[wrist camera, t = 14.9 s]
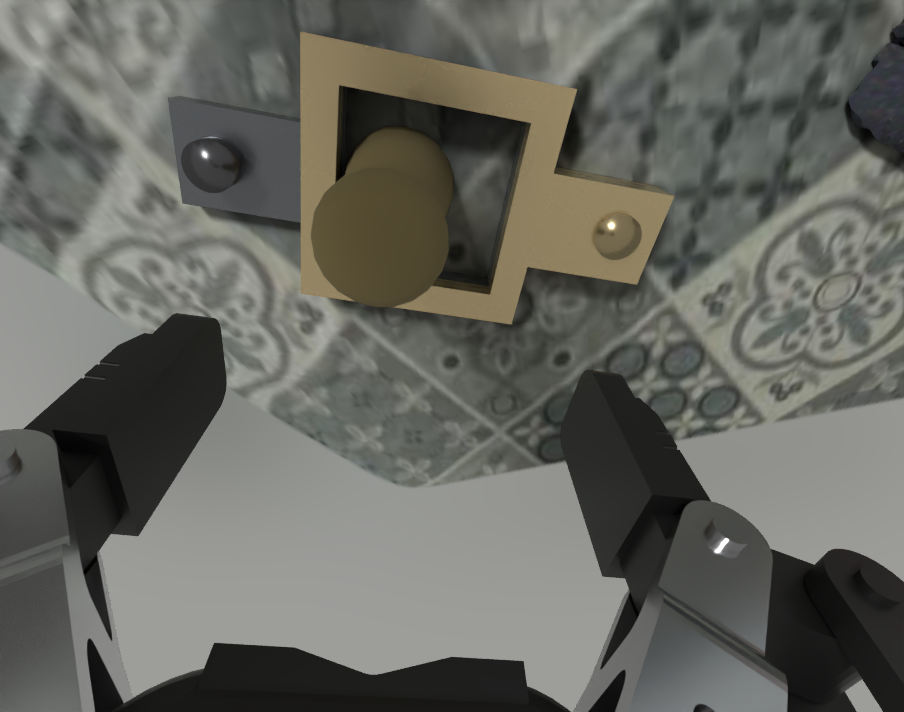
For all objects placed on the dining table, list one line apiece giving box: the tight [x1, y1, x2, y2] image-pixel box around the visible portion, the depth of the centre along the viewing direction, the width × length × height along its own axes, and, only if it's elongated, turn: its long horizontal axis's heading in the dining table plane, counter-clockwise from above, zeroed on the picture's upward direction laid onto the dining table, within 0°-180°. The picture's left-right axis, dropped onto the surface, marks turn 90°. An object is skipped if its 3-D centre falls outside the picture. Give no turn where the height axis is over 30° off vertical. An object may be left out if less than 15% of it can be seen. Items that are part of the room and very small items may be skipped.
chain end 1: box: [168, 86, 527, 286], centre depth 24 cm, size 12×19×3 cm, turn 80°
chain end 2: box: [300, 32, 674, 324], centre depth 25 cm, size 12×19×3 cm, turn 80°
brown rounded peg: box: [311, 126, 454, 307], centre depth 21 cm, size 6×6×11 cm
